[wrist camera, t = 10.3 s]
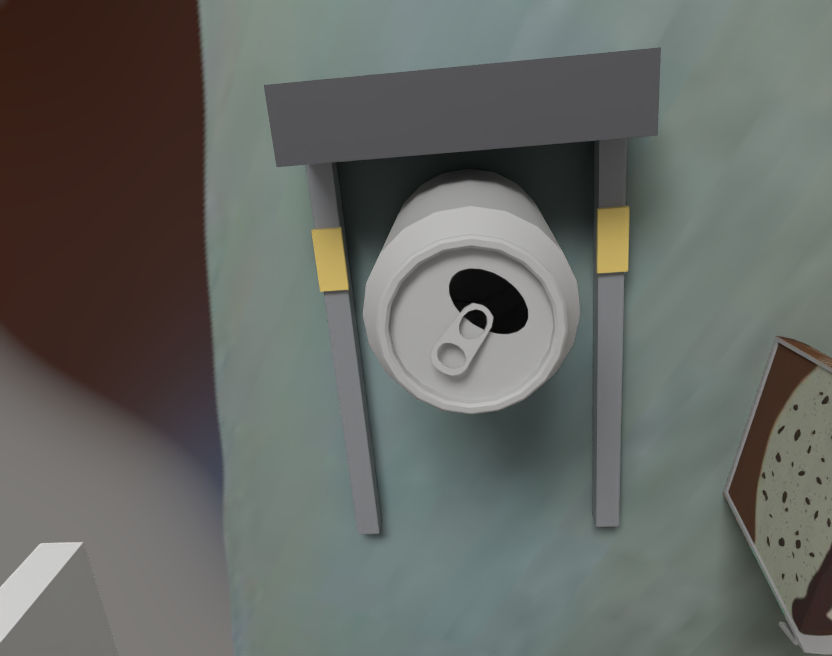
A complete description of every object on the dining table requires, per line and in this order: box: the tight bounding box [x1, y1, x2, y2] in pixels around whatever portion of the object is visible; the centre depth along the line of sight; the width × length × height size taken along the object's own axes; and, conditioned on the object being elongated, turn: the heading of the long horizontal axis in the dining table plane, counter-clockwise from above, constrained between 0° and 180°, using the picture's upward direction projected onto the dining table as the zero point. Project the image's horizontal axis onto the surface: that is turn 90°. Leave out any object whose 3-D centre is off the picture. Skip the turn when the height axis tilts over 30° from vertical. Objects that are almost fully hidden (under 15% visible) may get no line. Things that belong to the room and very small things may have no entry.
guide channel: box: [264, 48, 661, 534], centre depth 31 cm, size 24×15×6 cm, turn 5°
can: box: [363, 168, 580, 415], centre depth 27 cm, size 8×8×12 cm
